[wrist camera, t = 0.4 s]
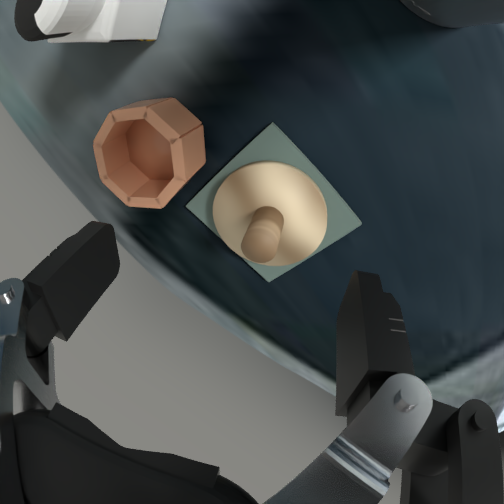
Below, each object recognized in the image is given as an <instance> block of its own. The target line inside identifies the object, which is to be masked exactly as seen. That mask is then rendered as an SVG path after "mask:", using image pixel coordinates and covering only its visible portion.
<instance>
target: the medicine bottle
mask: <svg viewBox="0 0 504 504" xmlns="http://www.w3.org/2000/svg"><path fill="white" fill-rule="evenodd" d="M166 3H167V0H17V3H16V7H15V17H14V19H15V26H16V29H17V31H18V33H19V34H20V35H21V36H22V38H24V39H25V40H27V41H38V40H44V39H48V42H49V43H62V42H124V41H155V40H156V39H157V37H158V33H159V29H160V25H161V21H162V17H163V14H164V10H165V6H166Z"/></svg>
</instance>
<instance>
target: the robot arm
mask: <svg viewBox="0 0 504 504" xmlns="http://www.w3.org/2000/svg"><path fill="white" fill-rule="evenodd" d="M400 1H401V2H402V3H403V4H404V5H405V6H406V7H407V8H408V9H410V10H411V11H412V12H414V13H415V14H417V15H418V16H419V17H421V18H423V19H425V20H427V21H429V22H431V23H434V24H436V25H439V26H443V27H449V28H462V27H469V26H476V25H487V24H498V23H504V0H400ZM119 267H120V260H119V255H118V249H117V244H116V238H115V232H114V228H113V226H112V225H111V224H107V223H101V222H96V221H91V222H90V223H88V224H87V225H86V226H85V227H83V228H82V229H81V230H80V231H79V232H78V233H76V234H75V235H73V236H71V237H69V238H67V239H66V240H65V241H63V242H62V243H61V244H60V245H59V246H58V247H57V249H55V250H54V251H52V252H51V253H50V256H47V257H46V258H45V259H44V260H43V261H42V262H41V263H39V265H37V266H36V267H35V268H34V269H33V270H32V271H31V272H30V273H29V274H28V275H27V276H26V277H25V278H24V279H23V280H22V281H21V280H20V279H17V278H10V279H7V280H4V281H2V282H1V283H0V504H258V503H257V501H256V500H255V499H254V498H253V497H252V496H251V495H249V493H247V492H246V491H245V490H244V489H242V488H241V487H240V486H238V485H237V484H235V483H234V482H232V481H230V480H228V479H227V478H225V477H223V476H221V475H219V467H217V466H213V465H209V464H205V463H202V462H198V461H194V460H191V459H187V458H184V457H181V456H177V455H174V454H170V453H160V452H151V451H143V450H136V449H129V448H125V447H122V446H120V445H119V444H118V443H116V442H115V441H114V440H112V439H111V438H110V437H109V436H107V435H106V434H105V433H104V432H102V431H101V430H100V429H99V428H98V427H96V426H95V425H94V424H93V423H92V422H91V421H90V420H88V419H87V418H85V417H82V416H81V415H79V414H77V413H75V412H73V411H71V410H70V409H67V408H66V407H64V406H62V405H61V404H60V402H59V399H58V397H57V394H56V387H55V370H54V346H53V343H52V341H51V340H52V339H53V337H54V336H56V337H58V338H60V339H62V340H64V341H68V339H69V338H70V336H71V335H72V334H73V332H74V331H75V329H76V328H77V327H78V325H79V324H80V322H81V321H82V320H83V319H84V317H85V316H86V315H87V313H88V312H89V311H90V310H91V308H92V307H93V306H94V304H95V303H96V302H97V301H98V299H99V298H100V296H101V295H102V294H103V293H104V292H105V290H106V289H107V288H108V287H109V285H110V284H111V283H112V282H113V280H114V279H115V278H116V276H117V274H118V272H119ZM405 332H406V329H405V324H404V322H403V316H402V312H401V308H400V305H399V304H398V303H397V301H396V300H395V298H394V297H393V296H392V294H391V293H385V292H383V289H382V285H381V281H380V277H379V275H378V274H373V273H368V272H362V271H357V270H355V271H354V272H353V274H352V276H351V279H350V282H349V285H348V287H347V290H346V293H345V295H344V298H343V301H342V303H341V306H340V309H339V312H338V317H337V383H336V413H335V414H336V415H337V416H346V417H347V427H346V428H345V429H344V430H343V432H342V433H341V434H340V435H339V436H338V437H337V438H336V439H335V440H334V441H333V442H332V443H331V444H330V445H329V446H328V447H327V448H326V449H325V450H324V451H323V452H322V453H321V454H320V455H319V456H318V457H317V458H316V459H315V460H314V461H313V462H312V463H311V464H309V466H307V467H306V468H305V469H304V470H303V471H302V472H301V473H299V474H298V475H297V476H296V477H295V478H294V479H293V480H291V481H290V482H289V483H288V484H287V485H286V486H284V487H283V488H282V489H281V490H280V491H278V492H277V493H276V494H275V495H273V496H272V497H271V498H269V499H268V500H267V501H266V502H264V503H263V504H378V503H379V501H380V500H381V499H382V498H383V496H384V495H385V493H386V492H387V490H388V488H389V485H390V483H389V482H388V479H389V476H390V475H391V473H392V472H393V471H394V469H395V468H400V469H402V483H401V498H400V504H504V493H503V492H504V490H503V470H502V458H501V449H500V441H499V434H498V427H497V421H496V417H495V415H494V413H493V411H492V409H491V408H490V407H489V406H488V405H487V404H486V403H485V402H483V401H481V400H477V399H472V400H469V401H467V402H465V403H464V404H463V405H462V406H461V407H460V408H459V409H458V408H455V407H452V406H450V405H447V404H444V403H441V402H438V401H436V400H434V399H432V395H431V392H430V390H429V388H428V387H427V385H426V384H425V383H424V382H423V381H422V380H420V379H419V378H417V377H415V373H414V367H413V362H412V357H411V352H410V347H409V342H408V338H407V333H405Z"/></svg>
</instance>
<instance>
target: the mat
mask: <svg viewBox="0 0 504 504" xmlns="http://www.w3.org/2000/svg"><path fill="white" fill-rule="evenodd" d="M262 160H272V161H279V162H283V163H287V164H289V165H292V166H294V167H296V168H298V169H300V170H302V171H303V172H304V173H306V174H307V175H308V176H309V177H310V178H311V179H312V180H313V181H314V182H315V183H316V184H317V186H318V187H319V189H320V190H321V192H322V194H323V196H324V199H325V202H326V206H327V228H326V232H325V235H324V238H323V240H322V242H321V244H320V245H319V246H318V248H317V249H316V250H315V251H314V252H313V253H312V254H311V255H309V256H308V257H306V258H305V259H303V260H301V261H299V262H296V263H293V264H290V265H284V266H267V265H261V264H258V263H254V262H252V261H249V260H247V259H245V258H243V257H241V256H240V255H239V256H240V257H241V258H243V259H244V260H245V261H246V262H247V263H248V264H249V265H250V266H251V267H252V268H254V269H255V270H256V271H257V272H258V273H259V274H260V275H261V276H262V277H263V278H265V279H266V280H267V281H268V282H270V281H272V280H273V279H275V278H277V277H278V276H280V275H282V274H283V273H285V272H287V271H288V270H290V269H292V268H293V267H295V266H296V265H298V264H300V263H301V262H303V261H305V260H306V259H308V258H309V257H311V256H313V255H314V254H316V253H317V252H319V251H321V250H322V249H324V248H325V247H327V246H329V245H330V244H332V243H333V242H335V241H337V240H338V239H340V238H341V237H343V236H345V235H346V234H348V233H349V232H351V231H352V230H354V229H355V228H357V227H359V226H360V225H362V223H361V221H360V219H359V218H358V217H357V216H356V214H355V213H354V212H353V211H352V209H351V208H350V207H349V206H348V205H347V203H346V202H345V201H344V200H343V199H342V197H341V196H340V195H339V194H338V193H337V191H336V190H335V189H334V188H333V187H332V186H331V184H330V183H329V182H328V181H327V180H326V179H325V177H324V176H323V175H322V174H321V173H320V172H319V171H318V169H317V168H316V167H315V166H314V165H313V164H312V163H311V162H310V161H309V159H308V158H307V157H306V156H305V155H304V154H303V153H302V152H301V151H300V150H299V149H298V148H297V146H296V145H295V144H294V143H293V142H292V141H291V140H290V139H289V138H288V137H287V136H286V135H285V134H284V133H283V132H282V131H281V130H280V129H279V128H278V127H277V126H276V125H275V124H274V123H273V122H272V123H271V124H270V125H269V126H268V127H267V128H266V129H265V130H263V131H262V132H261V133H260V134H259V135H258V136H257V137H256V138H255V139H254V140H252V141H251V142H250V143H249V144H248V145H247V146H246V147H245V148H244V149H243V150H242V151H241V152H240V153H239V154H237V155H236V156H235V157H234V158H233V159H232V160H231V161H230V162H229V163H228V164H227V165H226V166H225V167H224V168H223V169H222V170H221V171H220V172H219V173H218V174H217V175H216V176H215V177H214V178H213V179H212V180H211V181H210V182H209V183H208V184H207V185H206V186H205V187H204V188H203V189H202V190H201V191H200V192H199V193H198V194H197V195H196V196H195V197H194V198H193V199H192V200H191V201H190V202H189V203H188V204H187V205H186V207H187V208H188V209H189V210H190V211H191V212H192V213H193V214H195V215H196V216H197V217H198V218H199V219H200V220H201V221H202V222H203V223H204V224H205V225H207V226H208V227H209V228H210V229H211V230H212V231H213V232H214V233H215V234H216V235H217V236H218V237H220V238H221V236H220V235H219V233H218V231H217V229H216V226H215V223H214V219H213V202H214V198H215V195H216V193H217V191H218V189H219V187H220V186H221V184H222V183H223V182H224V181H225V179H226V178H227V177H228V176H229V175H230V174H231V173H232V172H233V171H235V170H236V169H238V168H239V167H241V166H243V165H245V164H248V163H251V162H255V161H262ZM221 239H222V238H221Z"/></svg>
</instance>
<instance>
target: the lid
mask: <svg viewBox="0 0 504 504" xmlns="http://www.w3.org/2000/svg"><path fill="white" fill-rule="evenodd" d="M213 219H214V223H215V226H216V229H217V231H218V233H219V235H220V236H221V238H222V240H223V241H224V242H225V243H226V244H227V245H228V247H229V248H230V249H232V250H233V251H234V252H235V253H237V254H238V255H240V256H241V257H243V258H245V259H247V260H249V261H252V262H254V263H258V264H261V265H267V266H284V265H290V264H293V263H296V262H299V261H301V260H303V259H305V258H306V257H308V256H309V255H311V254H312V253H313V252H314V251H315V250H316V249H317V248H318V246H319V245H320V244H321V242H322V240H323V238H324V235H325V232H326V228H327V206H326V202H325V199H324V196H323V194H322V192H321V190H320V189H319V187H318V186H317V184H316V183H315V182H314V181H313V180H312V179H311V178H310V177H309V176H308V175H307V174H306V173H304V172H303V171H302V170H300V169H298V168H296V167H294V166H292V165H289V164H287V163H283V162H279V161H272V160H262V161H255V162H251V163H248V164H245V165H243V166H241V167H239V168H238V169H236V170H235V171H233V172H232V173H231V174H230V175H229V176H228V177H227V178H226V179H225V181H224V182H223V183H222V184H221V186H220V187H219V189H218V191H217V193H216V195H215V198H214V202H213Z"/></svg>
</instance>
